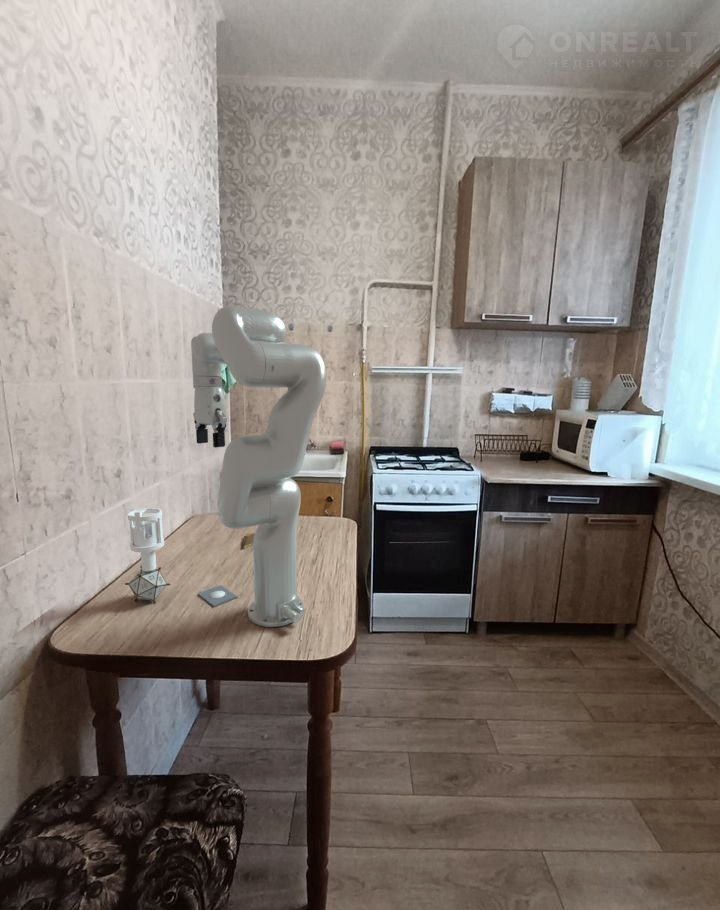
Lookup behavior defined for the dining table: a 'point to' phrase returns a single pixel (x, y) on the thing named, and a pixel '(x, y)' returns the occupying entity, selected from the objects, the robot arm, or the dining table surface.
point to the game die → (147, 584)
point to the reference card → (217, 595)
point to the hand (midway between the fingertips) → (210, 444)
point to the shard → (248, 540)
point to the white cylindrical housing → (146, 535)
